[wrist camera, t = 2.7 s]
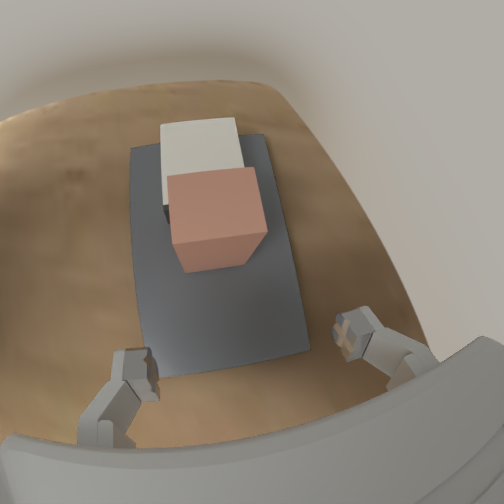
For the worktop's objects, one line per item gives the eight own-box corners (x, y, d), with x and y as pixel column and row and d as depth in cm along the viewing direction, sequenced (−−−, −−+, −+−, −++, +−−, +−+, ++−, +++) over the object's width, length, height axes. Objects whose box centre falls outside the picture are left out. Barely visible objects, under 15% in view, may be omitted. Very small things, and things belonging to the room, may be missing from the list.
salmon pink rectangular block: (185, 273, 22) (172, 244, 13) (179, 227, 23) (166, 175, 14) (244, 264, 23) (267, 231, 14) (236, 220, 24) (254, 166, 15)
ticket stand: (154, 375, 21) (143, 387, 17) (133, 155, 26) (124, 129, 21) (304, 348, 24) (325, 353, 20) (260, 142, 28) (269, 115, 24)
